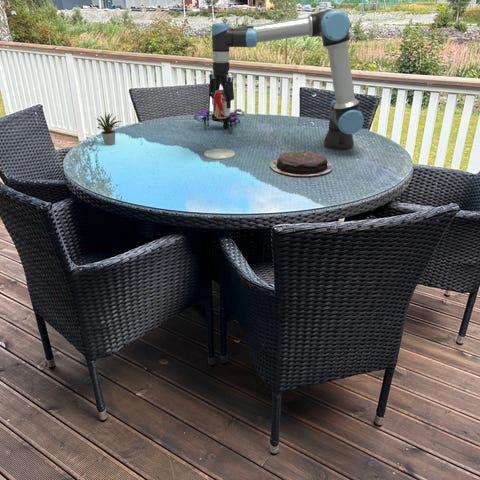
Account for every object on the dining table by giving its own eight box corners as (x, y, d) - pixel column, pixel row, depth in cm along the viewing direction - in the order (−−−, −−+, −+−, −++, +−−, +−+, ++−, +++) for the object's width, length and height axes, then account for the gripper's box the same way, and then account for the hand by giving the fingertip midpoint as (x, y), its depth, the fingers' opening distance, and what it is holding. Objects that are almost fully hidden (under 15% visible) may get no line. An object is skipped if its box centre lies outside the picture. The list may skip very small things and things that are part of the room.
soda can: (217, 119, 210) (217, 92, 205) (211, 116, 216) (211, 90, 210) (231, 118, 213) (231, 91, 208) (224, 115, 219) (224, 89, 213)
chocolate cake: (259, 163, 213) (260, 149, 210) (311, 156, 223) (312, 142, 220) (288, 182, 190) (289, 167, 187) (345, 173, 200) (346, 159, 197)
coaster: (241, 154, 223) (241, 153, 223) (218, 161, 214) (218, 159, 214) (220, 148, 233) (220, 147, 232) (197, 154, 223) (197, 153, 223)
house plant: (106, 150, 230) (101, 117, 223) (89, 145, 238) (84, 113, 230) (128, 143, 240) (124, 112, 233) (111, 139, 248) (107, 108, 240)
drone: (237, 121, 245) (186, 119, 248) (237, 139, 249) (187, 137, 253) (246, 106, 280) (201, 105, 283) (246, 122, 285) (201, 120, 288)
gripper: (199, 60, 207) (201, 111, 218) (230, 64, 195) (230, 118, 205) (212, 59, 212) (213, 109, 222) (242, 62, 199) (242, 116, 210)
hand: (221, 113), depth 214 cm, fingers closed on soda can, 7 cm apart
